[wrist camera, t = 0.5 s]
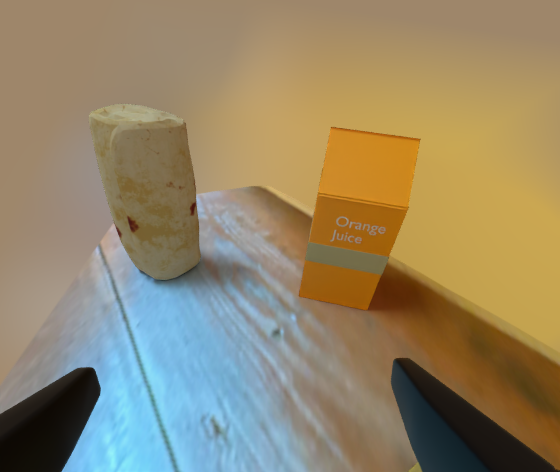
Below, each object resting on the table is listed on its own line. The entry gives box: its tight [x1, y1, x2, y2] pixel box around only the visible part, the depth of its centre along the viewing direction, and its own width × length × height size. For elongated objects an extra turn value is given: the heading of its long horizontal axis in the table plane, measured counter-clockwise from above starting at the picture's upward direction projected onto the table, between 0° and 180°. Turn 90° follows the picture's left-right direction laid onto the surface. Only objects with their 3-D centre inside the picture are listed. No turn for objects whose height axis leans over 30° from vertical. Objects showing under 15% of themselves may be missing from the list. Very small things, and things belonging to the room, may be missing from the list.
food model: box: [89, 104, 201, 280], centre depth 31 cm, size 10×7×20 cm
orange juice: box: [299, 127, 420, 310], centre depth 31 cm, size 8×9×20 cm
